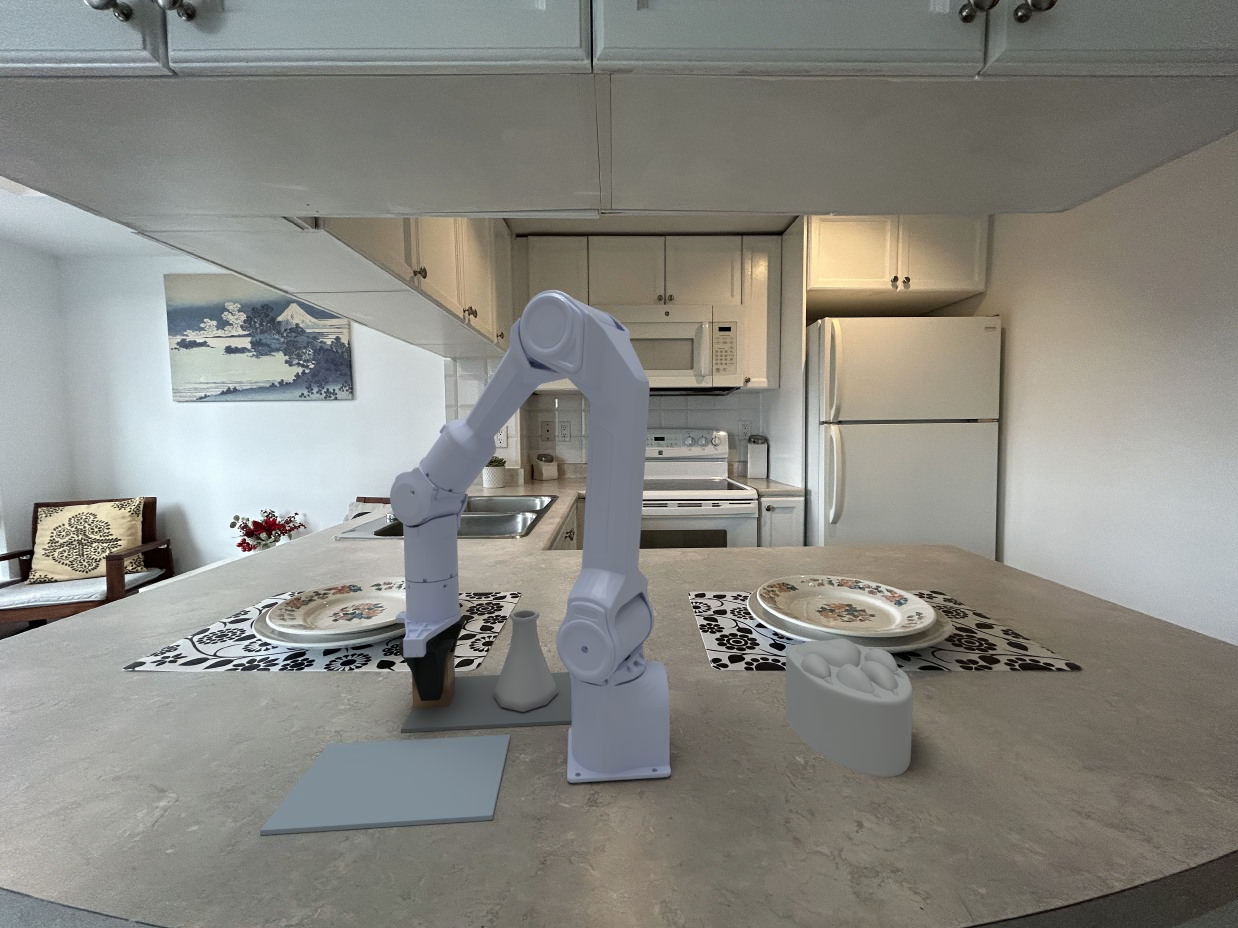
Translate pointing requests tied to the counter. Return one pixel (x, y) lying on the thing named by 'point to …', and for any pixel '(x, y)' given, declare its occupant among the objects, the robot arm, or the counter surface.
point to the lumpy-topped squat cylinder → (850, 705)
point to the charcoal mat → (482, 705)
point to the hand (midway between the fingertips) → (435, 690)
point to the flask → (525, 667)
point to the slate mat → (395, 785)
